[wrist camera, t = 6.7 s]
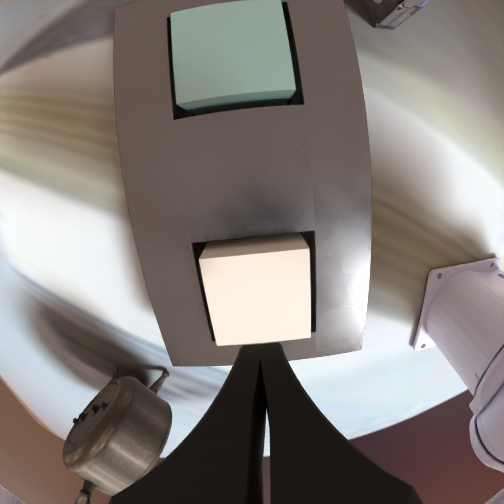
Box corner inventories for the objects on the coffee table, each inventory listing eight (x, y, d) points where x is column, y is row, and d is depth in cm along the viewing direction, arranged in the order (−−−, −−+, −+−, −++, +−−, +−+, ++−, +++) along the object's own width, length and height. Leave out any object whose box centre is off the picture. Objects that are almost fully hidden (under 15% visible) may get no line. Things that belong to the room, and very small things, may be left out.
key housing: (321, 9, 12) (336, -20, 8) (344, 316, 19) (361, 349, 16) (140, 31, 12) (115, 8, 9) (185, 331, 20) (172, 366, 16)
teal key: (274, 31, 12) (280, -2, 8) (285, 105, 14) (295, 89, 10) (188, 41, 12) (170, 13, 8) (195, 116, 14) (176, 104, 10)
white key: (296, 225, 16) (309, 248, 12) (300, 300, 18) (310, 337, 14) (211, 234, 16) (198, 259, 12) (223, 307, 18) (217, 345, 14)
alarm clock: (127, 411, 24) (84, 530, 9) (88, 381, 23) (28, 499, 8) (189, 377, 22) (149, 552, 6) (141, 337, 20) (59, 515, 5)
